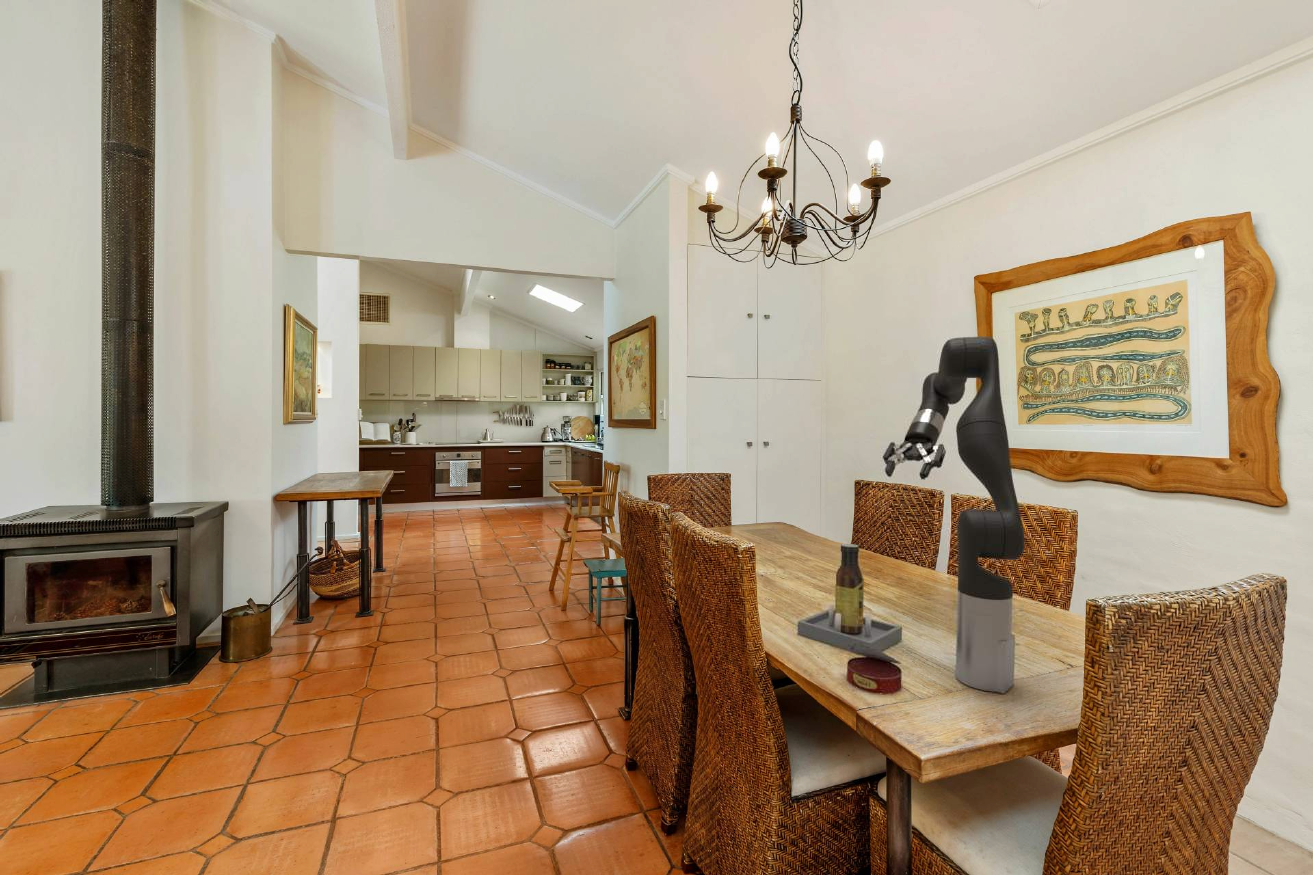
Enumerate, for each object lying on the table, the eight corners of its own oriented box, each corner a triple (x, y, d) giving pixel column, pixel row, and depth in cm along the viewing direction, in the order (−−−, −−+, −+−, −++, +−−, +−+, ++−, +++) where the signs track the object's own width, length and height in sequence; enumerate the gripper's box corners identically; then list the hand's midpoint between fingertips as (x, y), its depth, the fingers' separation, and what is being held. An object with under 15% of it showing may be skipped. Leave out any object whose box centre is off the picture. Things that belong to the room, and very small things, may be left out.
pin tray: (901, 639, 133) (902, 611, 133) (870, 657, 123) (870, 627, 123) (831, 619, 146) (831, 594, 146) (797, 633, 136) (798, 606, 136)
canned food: (844, 701, 113) (829, 647, 117) (891, 691, 115) (874, 639, 119) (871, 698, 103) (853, 640, 107) (921, 688, 105) (902, 631, 109)
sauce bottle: (864, 636, 131) (866, 549, 130) (836, 633, 132) (837, 547, 132) (860, 626, 137) (862, 543, 137) (833, 624, 139) (835, 541, 138)
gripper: (894, 420, 156) (872, 464, 149) (949, 420, 146) (929, 467, 138) (902, 439, 160) (882, 483, 152) (956, 441, 150) (938, 488, 142)
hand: (904, 475), depth 145 cm, fingers open, 8 cm apart
